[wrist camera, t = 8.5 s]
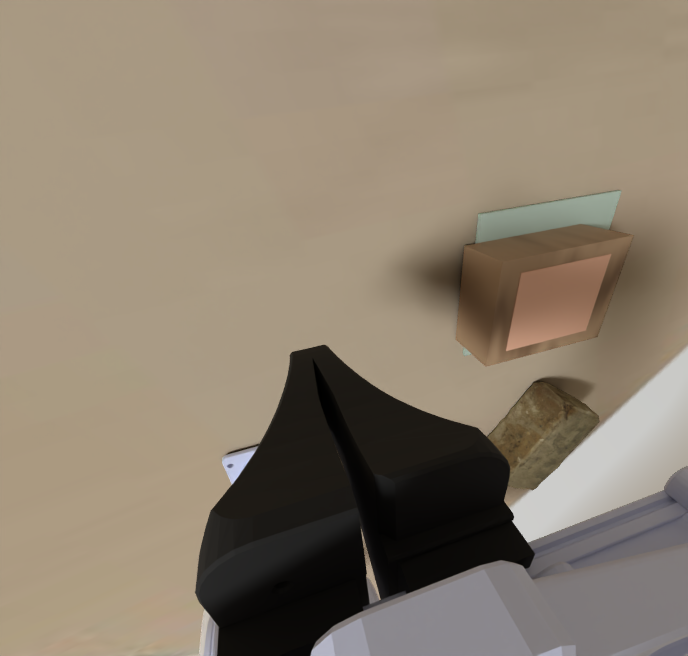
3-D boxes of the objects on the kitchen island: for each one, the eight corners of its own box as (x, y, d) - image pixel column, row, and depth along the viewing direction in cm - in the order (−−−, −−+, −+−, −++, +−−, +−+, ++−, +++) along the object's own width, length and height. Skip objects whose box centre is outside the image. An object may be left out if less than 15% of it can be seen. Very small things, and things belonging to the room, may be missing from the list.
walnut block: (455, 339, 27) (555, 315, 28) (486, 366, 23) (597, 337, 25) (464, 245, 23) (580, 223, 24) (503, 262, 19) (634, 235, 21)
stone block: (565, 386, 35) (608, 419, 31) (501, 459, 39) (532, 496, 35) (533, 374, 33) (576, 407, 28) (469, 453, 36) (498, 493, 32)
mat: (575, 325, 30) (578, 326, 30) (463, 354, 28) (464, 355, 28) (617, 190, 24) (621, 190, 24) (478, 213, 22) (481, 214, 22)
